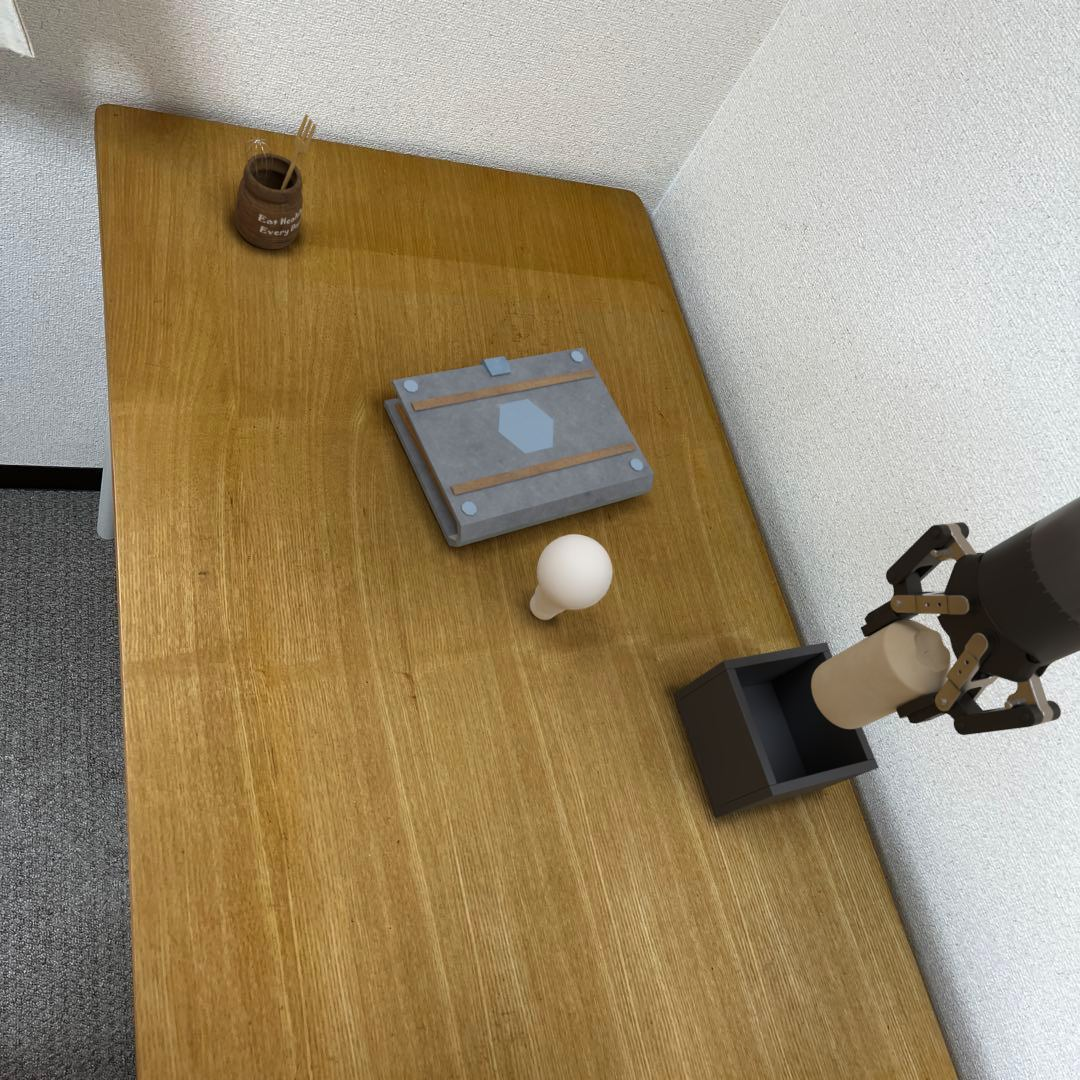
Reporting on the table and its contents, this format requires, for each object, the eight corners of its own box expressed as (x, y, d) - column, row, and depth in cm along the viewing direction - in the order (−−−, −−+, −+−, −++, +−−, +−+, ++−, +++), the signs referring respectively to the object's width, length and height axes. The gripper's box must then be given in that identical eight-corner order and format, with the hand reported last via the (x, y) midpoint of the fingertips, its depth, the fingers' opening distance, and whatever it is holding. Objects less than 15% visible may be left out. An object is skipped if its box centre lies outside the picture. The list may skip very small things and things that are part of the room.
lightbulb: (541, 567, 81) (590, 508, 72) (585, 619, 80) (639, 566, 71) (493, 600, 78) (537, 543, 69) (537, 655, 77) (588, 605, 68)
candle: (799, 697, 67) (889, 650, 59) (825, 647, 71) (913, 595, 62) (856, 745, 67) (954, 703, 59) (879, 692, 70) (975, 646, 62)
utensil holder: (221, 215, 87) (230, 110, 77) (276, 199, 90) (292, 96, 80) (257, 259, 86) (270, 158, 76) (312, 240, 89) (331, 142, 79)
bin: (815, 791, 81) (879, 767, 74) (715, 818, 76) (773, 795, 69) (770, 674, 85) (826, 641, 78) (673, 693, 80) (723, 660, 73)
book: (451, 556, 78) (468, 530, 74) (380, 403, 83) (392, 370, 79) (638, 502, 89) (662, 476, 85) (566, 369, 94) (585, 338, 90)
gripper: (985, 465, 52) (809, 586, 66) (1112, 702, 46) (892, 780, 60) (1068, 459, 55) (884, 576, 69) (1196, 680, 50) (969, 759, 63)
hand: (889, 671), depth 64 cm, fingers closed on candle, 5 cm apart
